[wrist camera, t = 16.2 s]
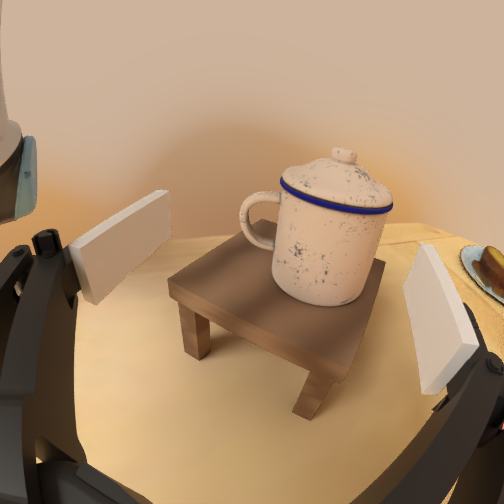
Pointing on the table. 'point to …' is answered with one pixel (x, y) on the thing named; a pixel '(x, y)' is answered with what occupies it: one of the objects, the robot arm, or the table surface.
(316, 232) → the teacup with lid
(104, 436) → the table surface
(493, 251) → the food on plate
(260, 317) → the walnut footstool
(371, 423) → the table surface
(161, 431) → the table surface
